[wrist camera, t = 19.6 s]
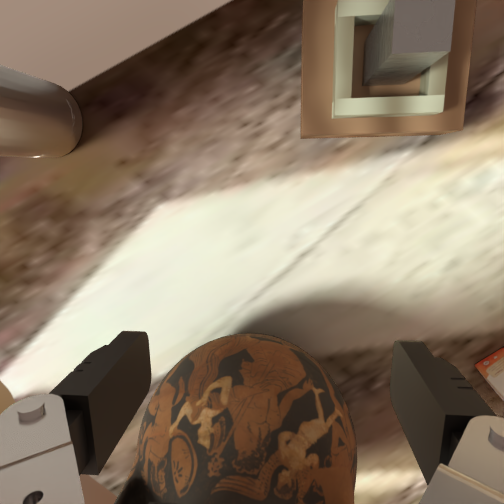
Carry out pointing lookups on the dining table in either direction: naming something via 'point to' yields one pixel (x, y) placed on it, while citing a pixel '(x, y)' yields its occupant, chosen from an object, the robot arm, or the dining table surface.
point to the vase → (245, 430)
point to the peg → (407, 40)
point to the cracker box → (493, 371)
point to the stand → (381, 96)
